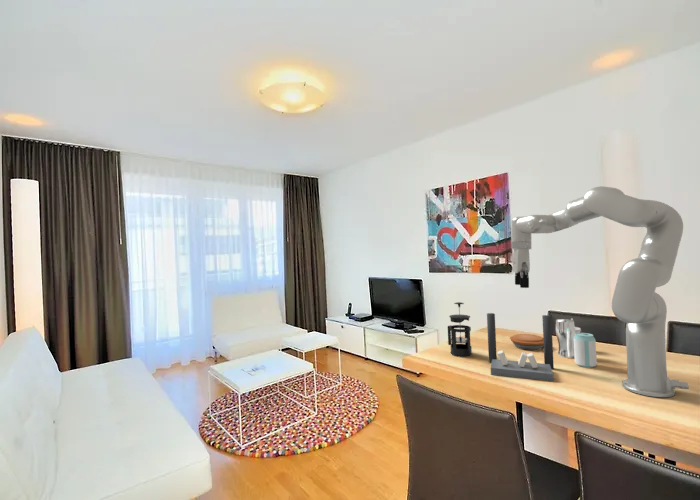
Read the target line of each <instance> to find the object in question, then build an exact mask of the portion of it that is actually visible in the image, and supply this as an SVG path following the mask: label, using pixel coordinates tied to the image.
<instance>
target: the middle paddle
mask: <svg viewBox="0 0 700 500" xmlns="http://www.w3.org/2000/svg"><path fill="white" fill-rule="evenodd" d="M527 359H528V356H527V352H524V351H522V352H521V354H520V357H519V359H518V365H519V366H521V367H523V368H524V365H525V362H527Z"/></svg>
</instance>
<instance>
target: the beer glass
mask: <svg viewBox="0 0 700 500" xmlns="http://www.w3.org/2000/svg"><path fill="white" fill-rule="evenodd" d="M575 327H576V325H575V321H574V319H573V320H571V319H568V318H562V319H561V318H557V319H555V335H556V339H557V343H558V352H557V356H559V357H561V358H567V359H575V357H574V349H573V347H574V336H575Z"/></svg>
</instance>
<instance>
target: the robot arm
mask: <svg viewBox="0 0 700 500" xmlns="http://www.w3.org/2000/svg"><path fill="white" fill-rule="evenodd" d="M599 217H603V218H606V219H608V220H611V221H613V222H615V223H618V224H620V225H623V226H626V227H630V228H631V227H632V228H646V234H645V236H644V237H643V239H642V243H641V245H640V250H639V254H638V257H637V258H632V259H630V260H628V261H626V262H625V263H624V264H623V265H622V267H621V268H620V270H619V272H618V276H617V280H616V284H615V286H614V287H615V288H614V291H613V295H612V299H611V310H612V313H613V315H614V316H615V317H616V318H617V319H618V320H619V321H620V322H623V323H625V324H626V325H625V345H626V346H625V347H626V363H627V364H626V367H627V379H624V380H622V381H621V385H622V387H623V388H624V389H625V390H627V391H629V392H632V393H636V394H639V395H642V396H646V397H653V398H672V397H673V396H675V392H676V391H675V389H676V388H677V389H683V390H689V388H690V386H689V383H688V382H684V381H680V380H679V379H671V378H669V377H668V372H667V371H668V369H667V351H666V349H667V348H666V343H667V342H666V323H667V315H668V314H667V309H668V308H667V304H666V303H667V302H666V301H665V299H664V298H663V297H662V296H661V295H660V294H659V293H657V292H656V289H657V288H660V287H662V286H665V285H666V284H668V283H669V282H670V280H671V278H672V275H673V272H674V271H673V270H674V266H675V263H676V259H677V256H678V252H679V247H680V244H681V241H682V236H683V234H684V222H683V219H682V216H681V214H680V213H679V212H678V211H677V210H676V209H675V208H673V207H672V206H671V205H668V204H667V203H665V202H662V201H659V200H652V199H642V198H641V199H640V198H637V197H633V196H631V195H627V194H625V193H624V192H623V191H622V190H621V189H619V188H617V187H611V186H595V187H593V188H591V189H589V190H587V192H586V193H585V194H584V196H581V197H579V198H576V199H572V200H571V201H569V202H568V203H567V204H566V208H565V209H563V210H560V211H558V212H557V211H556V212H554V213H552V214H531V215H527V216H514V217H513V218H512V219H511V250H512V251H513V252H512V272H513V273H514V285H516V286H519V287H520V289H524V288H525V289H527V288H530V278H529V277H530V275H529V273H530V267H531V266H530V265H531V264H530V263H531V262H530V261H531V259H530V250H532V234H551V233H555V232H559V231H564V230H565V229H569V228H572V227H574V226H575V225H578V224H580V223H583V222H586V221H589V220H593V219H595V218H599Z"/></svg>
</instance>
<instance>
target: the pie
mask: <svg viewBox="0 0 700 500" xmlns="http://www.w3.org/2000/svg"><path fill="white" fill-rule="evenodd" d="M509 340H510V341H511V342H512V344H513V345H514V347H516V349H517V348H518V349H521V350H528V351H537V350H541V349H543V348H544V341H543V337H542V336H540V335H536V334H530V333H518V334H514V335H512V336H510V337H509Z"/></svg>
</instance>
